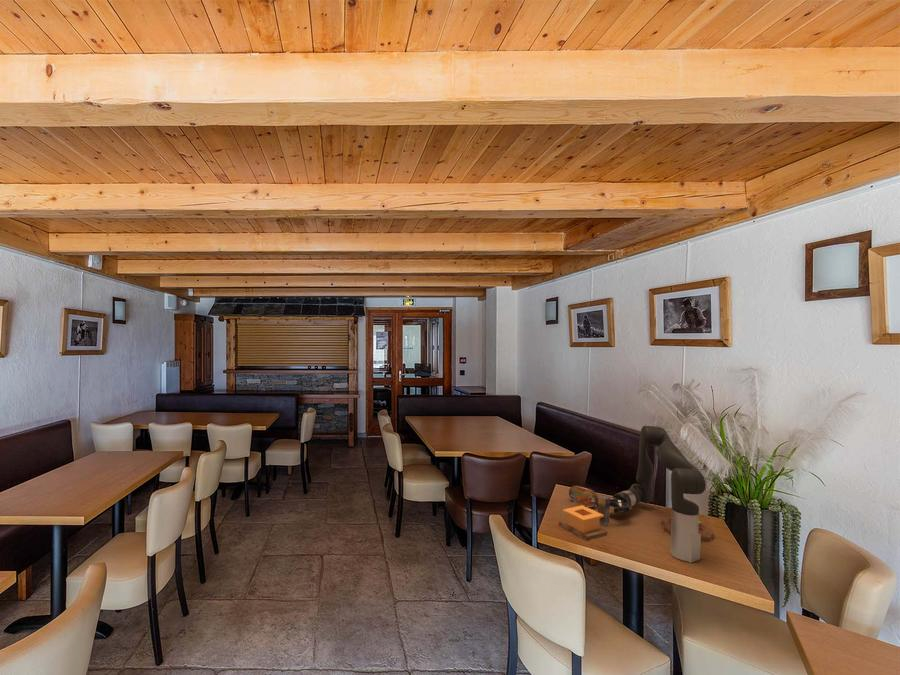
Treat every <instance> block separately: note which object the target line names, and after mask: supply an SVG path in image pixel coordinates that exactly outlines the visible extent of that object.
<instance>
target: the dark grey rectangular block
mask: <svg viewBox="0 0 900 675" xmlns="http://www.w3.org/2000/svg"><path fill="white" fill-rule="evenodd" d="M597 498H598V507H597V512H598V513H601V514H603V515H604V517H601V518H600V520H599V524H601V525H600V526H602V525H603V526H602V527H604V526H605V527H607V526H609V525H610V510H611V509H610V508H611V507H610V498H611V497H609V496H606V495H600V496H597ZM608 524H609V525H608ZM606 525H607V526H606Z"/></svg>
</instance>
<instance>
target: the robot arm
mask: <svg viewBox="0 0 900 675" xmlns="http://www.w3.org/2000/svg"><path fill="white" fill-rule="evenodd" d="M648 446H650V447H657V449H656V456H657V458H658V460H659V461H660V463H661V464H662V466H663V467H664V468H666V469H667V470H669V471H671V473H670V486H671V488H670V490H671V491H670V492H671V493H670V494H671V495H670V496H671V497H670V498H671V535H670V549H669V550H670V551H669V552H670V555H671V556H672V557H674V558H675V559H678V560H681V561H684V562H688V563H694V562H697V561H700V560H701V546H702V545H701V542H702V541H701V534H699V533H698V528H699V521H700V519H699V518H700V508H699V505H698V504H697V503H696V502H693V501H691V500H688V499H686V498H685V497H684V495H687V494H688V495H702V494H703V493H705V491H706V487H707V483H706V480H705V477H704V475H703V473H702V472H701V471H700V470H699V469H698V468H697V467H696V466H694V465H693V463H691V462H690V461H689V459H687V457H686V456H685V455H684V454H683V453H682V452H681V451H680V449H679V448H678V447H677V446H676V445H675V443H674V442H673V440H672V439H671V438H670V435H669V434H668V432H667V431H666V429H664V428H663V427H661V426H653V425H643V426H642V427H641V429H640V433H639V446H638V447H639V448H638V449H639V450H638V465H637V471H636V476H635V479H636V482H637V483H632V485H631V486H630V487H629V488H628V489H627V490H623V491H620V492H617V493H615V494H614V495H613V496H612V497H609V498H610V508H613V512H614V514H618V513H624V514H628V513H629V512H631V511H632V509H633V508H632V507H633V506H635V505H637V504H639V503H640V502H641V503H643V504H645V505H646V504H649V503H651V502H652V500H653V497H654V496H653V494H654V492H653V482H652V481H653V476H654V465H653V462H652V461H651V459H650V456H649V454H648ZM595 506H596V507H597V508H598V501H597V502H596V505H595Z"/></svg>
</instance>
